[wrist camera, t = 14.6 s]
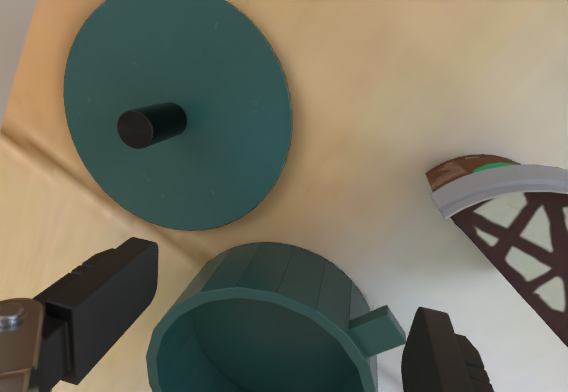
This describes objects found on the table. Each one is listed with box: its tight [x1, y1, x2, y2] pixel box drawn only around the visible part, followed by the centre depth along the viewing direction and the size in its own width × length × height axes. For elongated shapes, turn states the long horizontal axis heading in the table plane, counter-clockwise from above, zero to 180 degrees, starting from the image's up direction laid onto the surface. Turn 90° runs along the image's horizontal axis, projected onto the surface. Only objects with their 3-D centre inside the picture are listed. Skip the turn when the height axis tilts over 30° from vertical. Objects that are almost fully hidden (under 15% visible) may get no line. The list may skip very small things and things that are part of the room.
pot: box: [146, 242, 406, 392], centre depth 30 cm, size 17×22×7 cm
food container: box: [425, 154, 568, 347], centre depth 21 cm, size 12×6×10 cm, turn 45°
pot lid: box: [64, 0, 292, 231], centre depth 26 cm, size 18×18×6 cm
